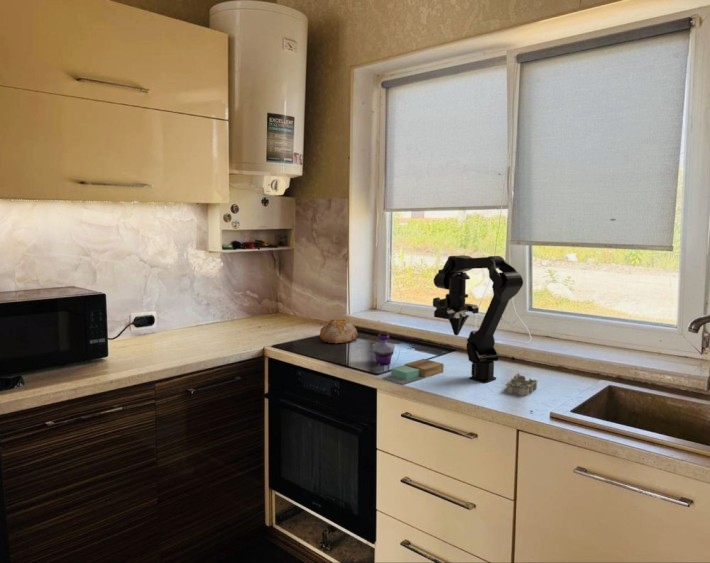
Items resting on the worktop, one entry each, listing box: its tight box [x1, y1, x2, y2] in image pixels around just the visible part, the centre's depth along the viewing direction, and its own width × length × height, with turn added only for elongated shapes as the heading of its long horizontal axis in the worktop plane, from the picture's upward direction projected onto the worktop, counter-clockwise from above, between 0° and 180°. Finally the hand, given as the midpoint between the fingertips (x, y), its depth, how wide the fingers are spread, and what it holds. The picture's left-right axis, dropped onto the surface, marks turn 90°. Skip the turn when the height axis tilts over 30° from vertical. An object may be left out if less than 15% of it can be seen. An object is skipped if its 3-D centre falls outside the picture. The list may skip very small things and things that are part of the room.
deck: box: [404, 358, 444, 379], centre depth 190 cm, size 9×10×3 cm
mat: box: [382, 375, 424, 386], centre depth 182 cm, size 9×10×1 cm
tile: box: [390, 364, 419, 380], centre depth 184 cm, size 7×6×2 cm
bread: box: [319, 319, 359, 345], centre depth 239 cm, size 16×20×10 cm
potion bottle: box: [372, 330, 395, 366], centre depth 200 cm, size 9×9×12 cm
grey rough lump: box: [504, 372, 539, 396], centre depth 170 cm, size 11×8×4 cm
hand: (456, 335), depth 193 cm, fingers closed
